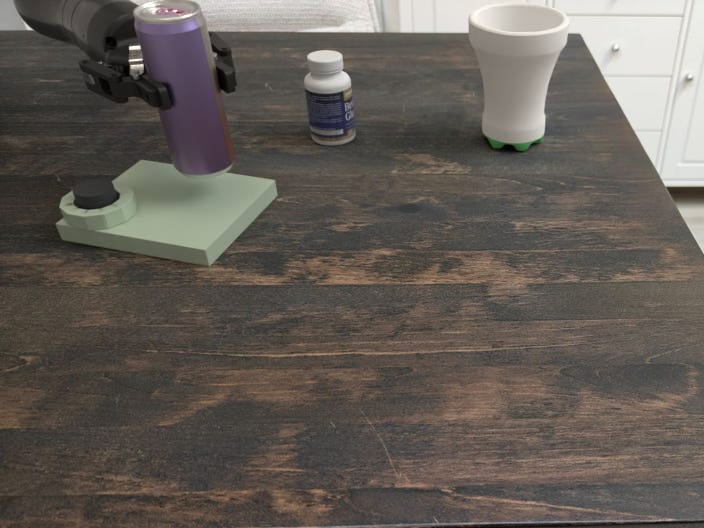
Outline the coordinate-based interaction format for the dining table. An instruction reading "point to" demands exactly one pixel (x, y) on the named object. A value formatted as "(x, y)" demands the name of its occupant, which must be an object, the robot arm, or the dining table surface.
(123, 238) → the scale
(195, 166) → the purple tall cylinder
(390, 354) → the dining table surface
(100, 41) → the robot arm
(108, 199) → the button
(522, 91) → the cup
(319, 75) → the pill bottle
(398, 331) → the dining table surface
